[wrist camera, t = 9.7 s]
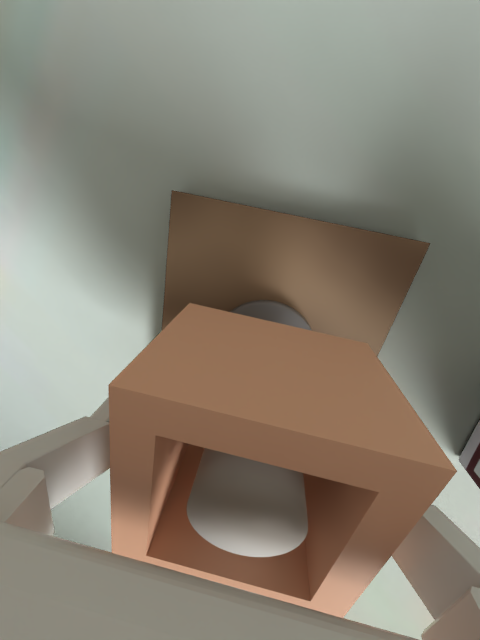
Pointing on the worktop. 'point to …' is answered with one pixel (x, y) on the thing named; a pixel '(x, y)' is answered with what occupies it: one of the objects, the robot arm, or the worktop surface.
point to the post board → (285, 308)
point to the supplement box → (472, 455)
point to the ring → (269, 452)
